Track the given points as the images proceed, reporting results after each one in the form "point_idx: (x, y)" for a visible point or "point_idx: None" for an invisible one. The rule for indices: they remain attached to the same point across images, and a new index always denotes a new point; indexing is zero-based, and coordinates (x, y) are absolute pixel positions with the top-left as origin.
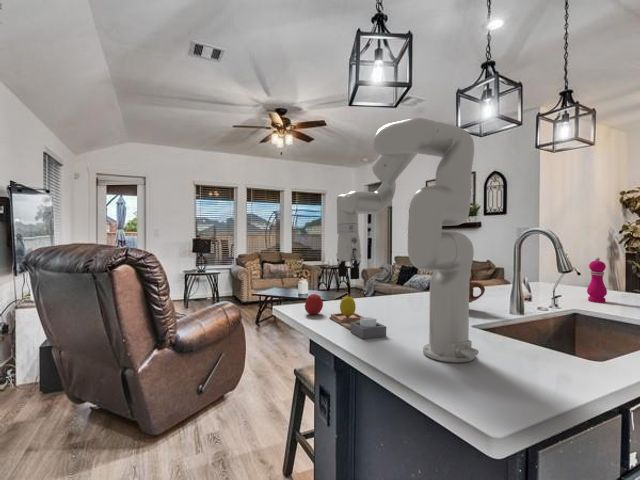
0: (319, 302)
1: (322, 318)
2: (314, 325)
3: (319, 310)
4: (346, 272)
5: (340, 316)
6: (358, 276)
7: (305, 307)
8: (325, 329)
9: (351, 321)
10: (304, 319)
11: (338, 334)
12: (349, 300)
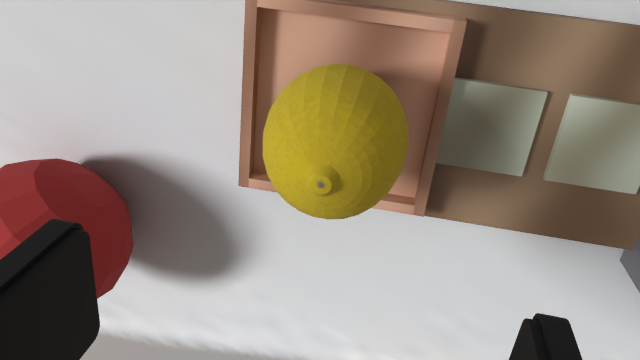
0: (99, 243)
1: (222, 212)
2: (356, 328)
3: (120, 203)
4: (46, 265)
5: None
6: (572, 356)
7: None
8: (467, 328)
9: (460, 149)
10: (203, 304)
11: (602, 330)
12: (382, 184)
